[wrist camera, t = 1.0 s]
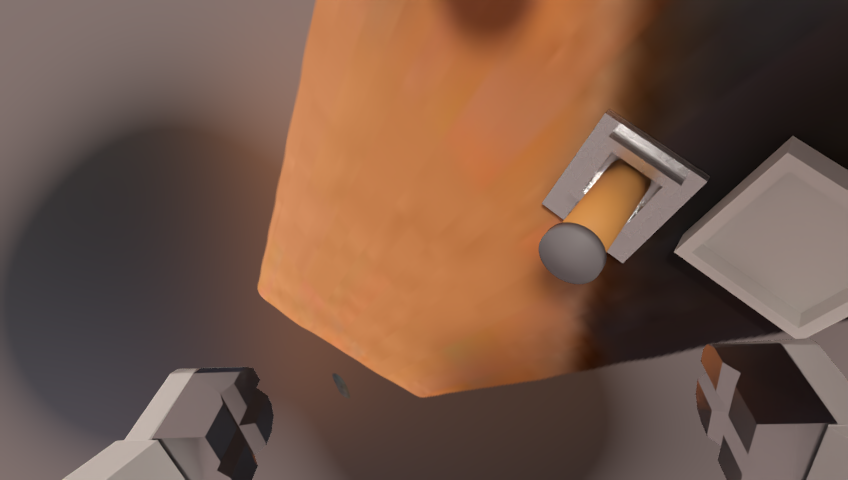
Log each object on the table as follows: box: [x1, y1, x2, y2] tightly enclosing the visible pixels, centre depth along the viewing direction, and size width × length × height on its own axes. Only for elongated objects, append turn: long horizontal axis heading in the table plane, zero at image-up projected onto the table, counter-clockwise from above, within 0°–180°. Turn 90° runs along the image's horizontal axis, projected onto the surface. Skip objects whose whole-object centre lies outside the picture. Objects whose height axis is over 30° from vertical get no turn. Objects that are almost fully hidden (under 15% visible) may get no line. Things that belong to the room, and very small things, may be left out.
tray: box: [674, 136, 848, 339], centre depth 39 cm, size 12×12×3 cm
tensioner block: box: [542, 109, 710, 263], centre depth 46 cm, size 12×10×3 cm
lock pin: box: [539, 159, 651, 284], centre depth 41 cm, size 5×5×13 cm
